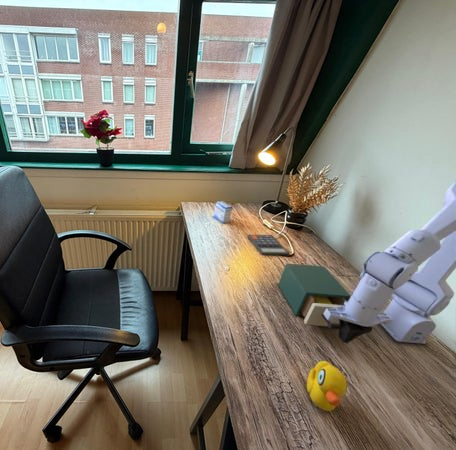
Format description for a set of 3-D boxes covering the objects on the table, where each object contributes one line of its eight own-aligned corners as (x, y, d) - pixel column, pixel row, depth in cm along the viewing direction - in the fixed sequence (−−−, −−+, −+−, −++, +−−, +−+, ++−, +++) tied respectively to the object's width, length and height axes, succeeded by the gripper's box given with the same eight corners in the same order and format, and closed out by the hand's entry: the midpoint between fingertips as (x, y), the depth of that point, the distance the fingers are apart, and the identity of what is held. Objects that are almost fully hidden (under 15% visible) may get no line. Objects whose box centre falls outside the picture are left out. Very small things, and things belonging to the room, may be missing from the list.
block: (327, 314, 72) (333, 304, 70) (313, 313, 72) (318, 303, 70) (318, 301, 76) (323, 292, 74) (305, 300, 76) (310, 291, 74)
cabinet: (338, 318, 73) (351, 296, 69) (295, 315, 73) (306, 292, 69) (314, 287, 85) (324, 266, 81) (278, 284, 85) (286, 263, 81)
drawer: (356, 342, 65) (369, 323, 62) (313, 338, 65) (324, 319, 62) (321, 296, 80) (330, 278, 77) (286, 293, 80) (294, 275, 77)
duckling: (335, 434, 47) (358, 406, 43) (304, 418, 49) (322, 390, 45) (330, 382, 56) (349, 354, 52) (304, 370, 58) (319, 342, 54)
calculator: (272, 234, 115) (289, 253, 102) (271, 236, 115) (288, 254, 102) (248, 234, 114) (262, 252, 101) (247, 235, 114) (261, 254, 101)
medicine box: (213, 216, 131) (216, 201, 127) (219, 215, 133) (223, 200, 129) (222, 223, 125) (225, 207, 121) (229, 221, 127) (233, 206, 123)
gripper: (385, 290, 60) (360, 328, 66) (326, 285, 60) (306, 324, 66) (411, 313, 54) (380, 352, 60) (344, 307, 54) (320, 347, 60)
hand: (342, 339), depth 63 cm, fingers closed, pressing on drawer
